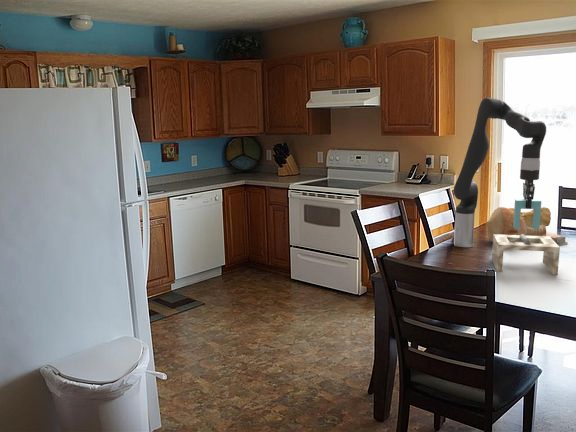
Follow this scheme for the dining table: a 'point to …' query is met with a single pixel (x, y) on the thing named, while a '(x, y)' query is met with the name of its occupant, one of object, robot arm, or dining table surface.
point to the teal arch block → (522, 204)
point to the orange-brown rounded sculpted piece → (509, 225)
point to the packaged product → (557, 238)
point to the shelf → (528, 244)
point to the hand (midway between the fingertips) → (527, 207)
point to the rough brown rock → (544, 217)
